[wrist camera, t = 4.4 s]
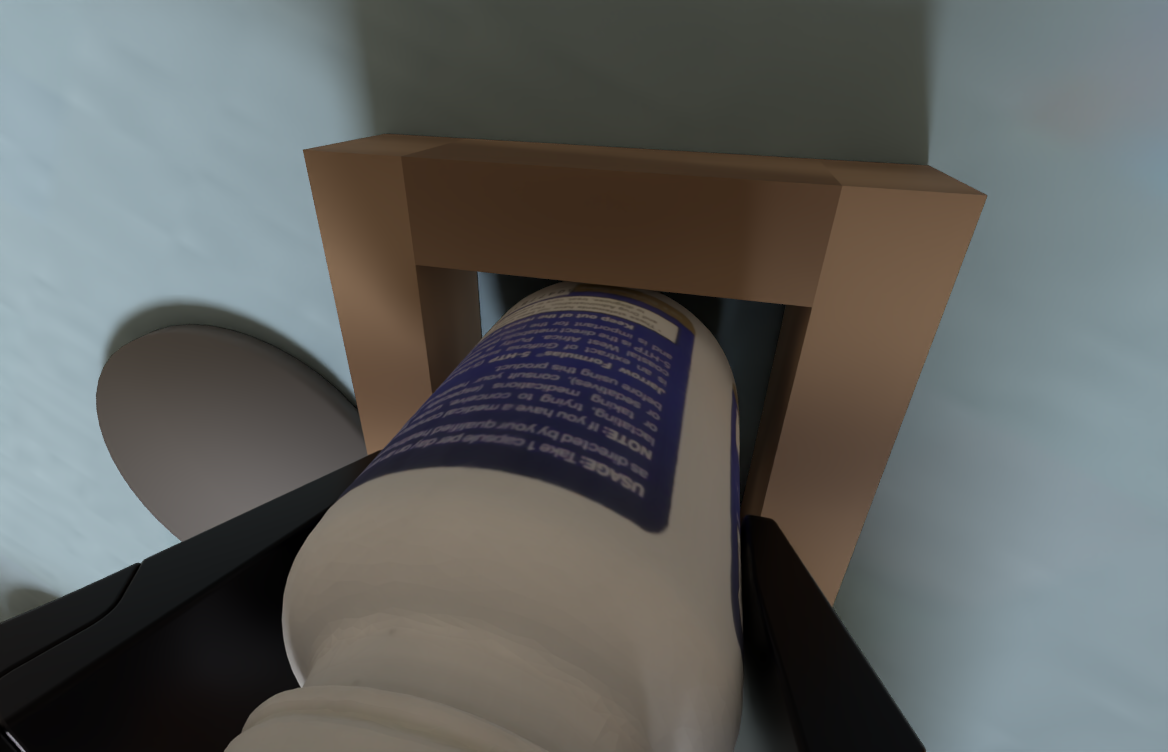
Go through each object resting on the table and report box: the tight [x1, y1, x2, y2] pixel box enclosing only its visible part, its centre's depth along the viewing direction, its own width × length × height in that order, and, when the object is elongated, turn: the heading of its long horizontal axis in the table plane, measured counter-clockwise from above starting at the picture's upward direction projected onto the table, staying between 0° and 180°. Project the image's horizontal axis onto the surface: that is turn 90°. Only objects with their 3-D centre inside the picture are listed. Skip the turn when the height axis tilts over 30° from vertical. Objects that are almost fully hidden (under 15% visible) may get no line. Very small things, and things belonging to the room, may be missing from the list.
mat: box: [96, 324, 368, 542], centre depth 17 cm, size 10×10×1 cm
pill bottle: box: [224, 281, 745, 752], centre depth 8 cm, size 5×5×9 cm
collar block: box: [303, 134, 987, 607], centre depth 12 cm, size 10×10×2 cm
